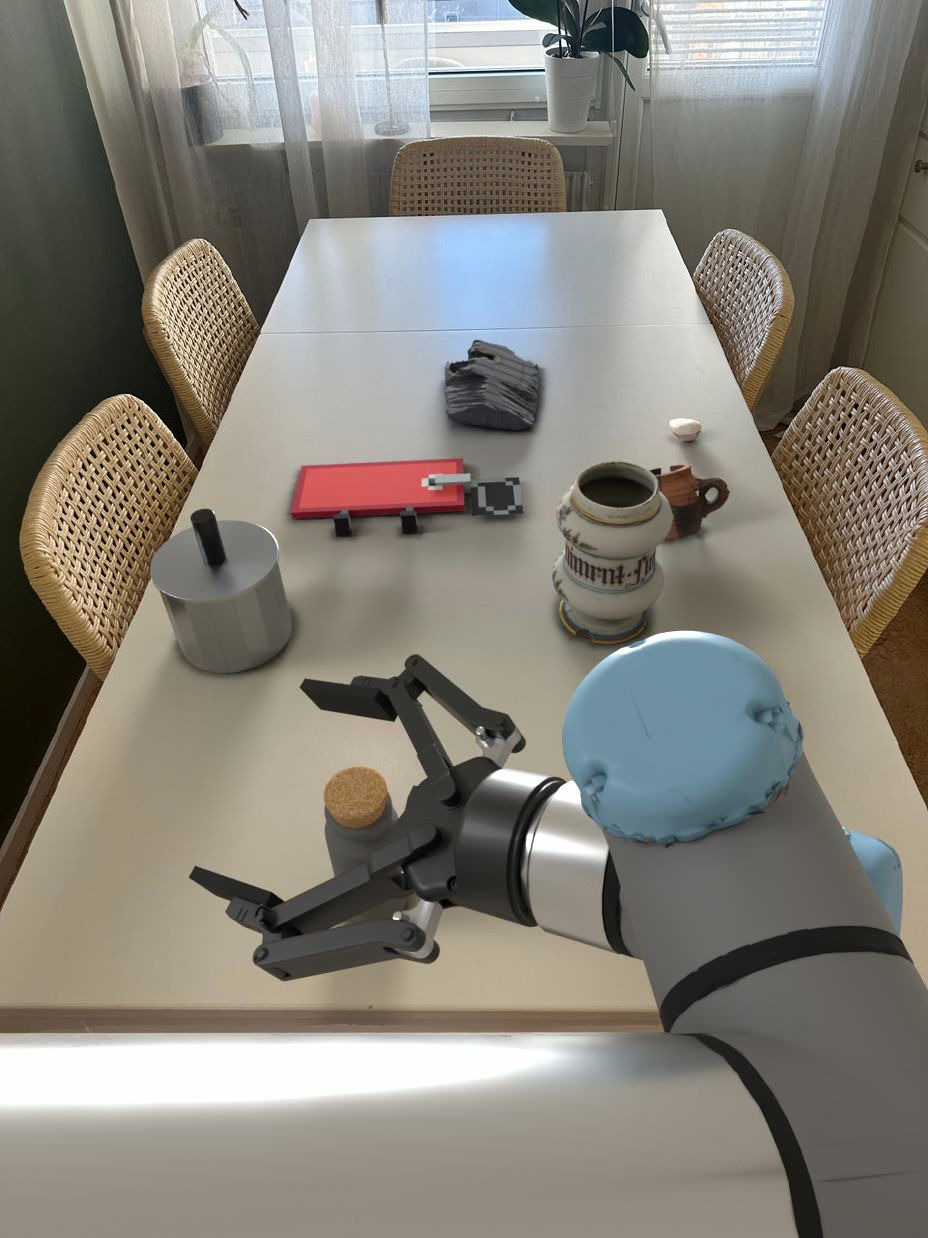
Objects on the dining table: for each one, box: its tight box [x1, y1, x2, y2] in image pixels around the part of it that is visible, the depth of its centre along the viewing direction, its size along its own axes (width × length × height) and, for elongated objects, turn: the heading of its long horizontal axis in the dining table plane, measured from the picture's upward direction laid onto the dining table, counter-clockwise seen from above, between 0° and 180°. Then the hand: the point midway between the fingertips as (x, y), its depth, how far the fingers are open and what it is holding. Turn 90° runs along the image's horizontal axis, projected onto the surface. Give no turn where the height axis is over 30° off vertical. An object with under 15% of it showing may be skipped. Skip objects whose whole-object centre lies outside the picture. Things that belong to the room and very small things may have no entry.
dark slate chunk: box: [444, 339, 540, 431], centre depth 133 cm, size 15×22×5 cm
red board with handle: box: [290, 457, 524, 538], centre depth 115 cm, size 30×3×15 cm
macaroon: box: [669, 418, 702, 442], centre depth 124 cm, size 4×5×2 cm
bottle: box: [323, 765, 409, 923], centre depth 69 cm, size 6×6×15 cm
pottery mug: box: [648, 463, 731, 541], centre depth 110 cm, size 12×10×8 cm
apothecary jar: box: [551, 460, 673, 645], centre depth 92 cm, size 12×12×18 cm
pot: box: [159, 562, 293, 674], centre depth 94 cm, size 12×12×10 cm
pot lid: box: [149, 508, 280, 604], centre depth 89 cm, size 13×13×7 cm
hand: (261, 782), depth 55 cm, fingers open, 13 cm apart
